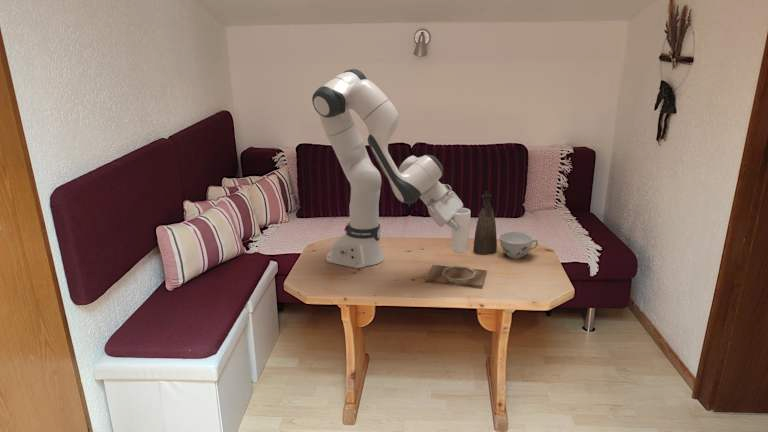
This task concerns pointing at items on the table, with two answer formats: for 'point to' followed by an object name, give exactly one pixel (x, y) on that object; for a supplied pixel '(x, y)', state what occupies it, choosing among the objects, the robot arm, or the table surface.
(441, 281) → the walnut board
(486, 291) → the table surface
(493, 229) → the statue
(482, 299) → the table surface
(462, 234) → the drinking glass
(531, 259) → the table surface
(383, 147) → the robot arm
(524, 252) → the teacup
